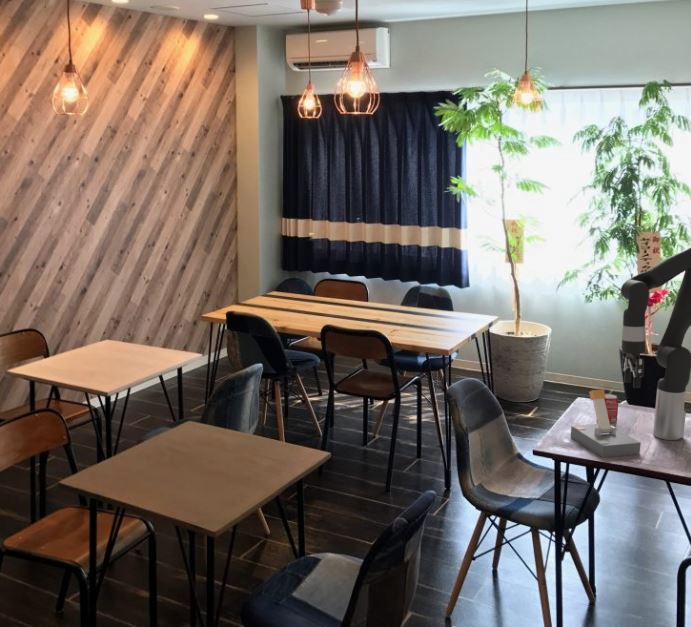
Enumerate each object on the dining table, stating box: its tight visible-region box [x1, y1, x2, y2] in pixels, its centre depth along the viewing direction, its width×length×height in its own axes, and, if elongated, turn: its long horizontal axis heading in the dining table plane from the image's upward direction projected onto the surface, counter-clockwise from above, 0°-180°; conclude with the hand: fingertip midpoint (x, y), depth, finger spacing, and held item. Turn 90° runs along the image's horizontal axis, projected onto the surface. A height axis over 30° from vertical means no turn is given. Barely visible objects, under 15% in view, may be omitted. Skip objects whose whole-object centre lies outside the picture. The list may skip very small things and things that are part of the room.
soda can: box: [596, 393, 619, 428], centre depth 292 cm, size 7×7×12 cm
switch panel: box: [570, 423, 642, 458], centre depth 274 cm, size 14×20×6 cm
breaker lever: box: [588, 389, 611, 433], centre depth 276 cm, size 4×2×15 cm, turn 105°
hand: (632, 385), depth 277 cm, fingers open, 8 cm apart
